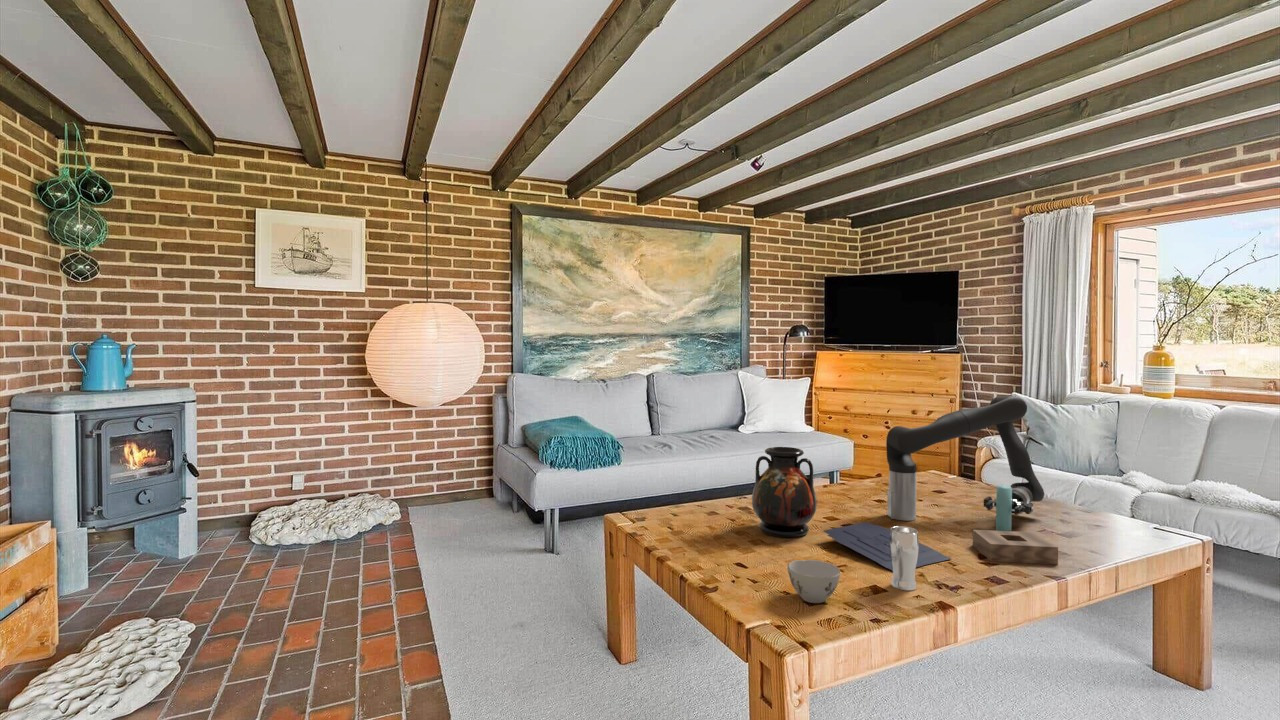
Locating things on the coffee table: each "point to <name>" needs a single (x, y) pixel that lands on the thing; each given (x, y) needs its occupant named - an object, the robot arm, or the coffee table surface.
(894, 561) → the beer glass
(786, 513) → the amphora vase
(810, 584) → the teacup
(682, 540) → the coffee table surface
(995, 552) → the walnut block
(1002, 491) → the teal pin
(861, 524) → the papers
